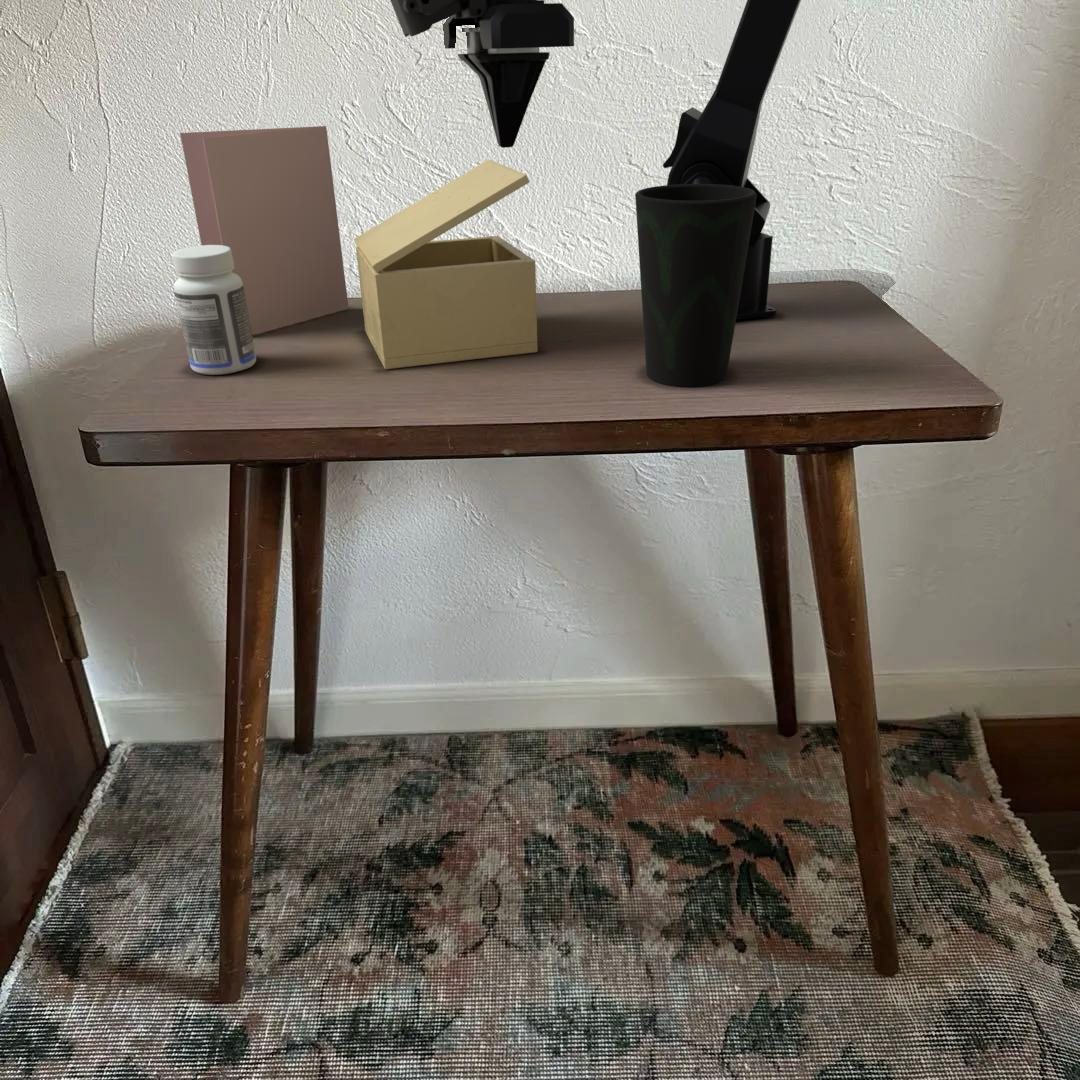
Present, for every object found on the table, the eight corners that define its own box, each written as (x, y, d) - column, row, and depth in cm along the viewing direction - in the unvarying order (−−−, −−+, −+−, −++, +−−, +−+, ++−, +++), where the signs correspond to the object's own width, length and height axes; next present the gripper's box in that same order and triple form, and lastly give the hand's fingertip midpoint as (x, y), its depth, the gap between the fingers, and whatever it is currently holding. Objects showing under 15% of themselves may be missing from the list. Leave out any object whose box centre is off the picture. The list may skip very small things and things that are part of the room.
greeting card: (347, 306, 84) (325, 125, 77) (355, 327, 78) (331, 132, 71) (216, 318, 82) (180, 132, 75) (212, 340, 76) (173, 140, 69)
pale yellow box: (501, 318, 80) (498, 235, 76) (537, 352, 71) (535, 260, 67) (365, 332, 77) (355, 247, 74) (384, 369, 68) (374, 274, 65)
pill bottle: (237, 352, 72) (217, 240, 68) (268, 365, 69) (249, 248, 65) (179, 367, 70) (154, 251, 66) (209, 380, 67) (185, 260, 63)
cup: (758, 387, 62) (775, 197, 57) (647, 396, 61) (653, 204, 56) (720, 353, 69) (732, 181, 63) (619, 361, 68) (622, 187, 62)
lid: (492, 166, 74) (488, 158, 74) (530, 182, 65) (526, 174, 65) (357, 245, 74) (353, 239, 73) (376, 273, 65) (371, 265, 64)
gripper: (373, -64, 77) (392, 142, 84) (413, -93, 61) (432, 164, 68) (504, -64, 79) (511, 136, 87) (576, -92, 63) (577, 156, 71)
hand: (505, 147), depth 78 cm, fingers closed
